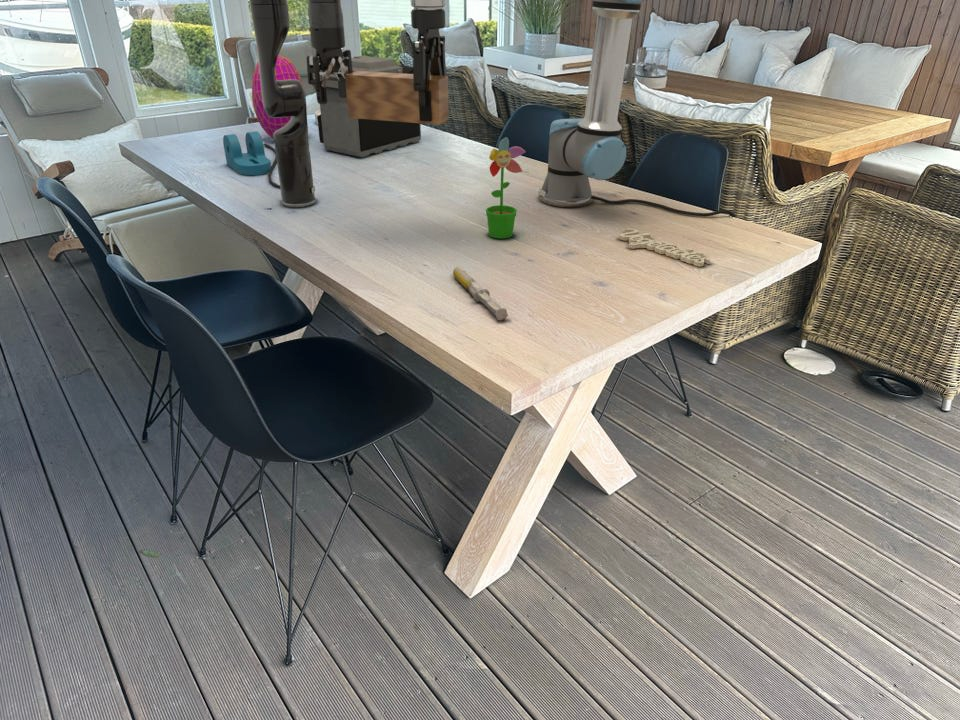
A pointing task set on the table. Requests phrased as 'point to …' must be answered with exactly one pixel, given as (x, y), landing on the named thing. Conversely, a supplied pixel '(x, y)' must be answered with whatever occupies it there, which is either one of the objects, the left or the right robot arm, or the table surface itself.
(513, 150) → the potted flower
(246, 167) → the camera mount
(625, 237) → the decorative sign
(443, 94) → the box
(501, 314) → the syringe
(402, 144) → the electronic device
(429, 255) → the table surface
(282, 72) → the decorative egg
